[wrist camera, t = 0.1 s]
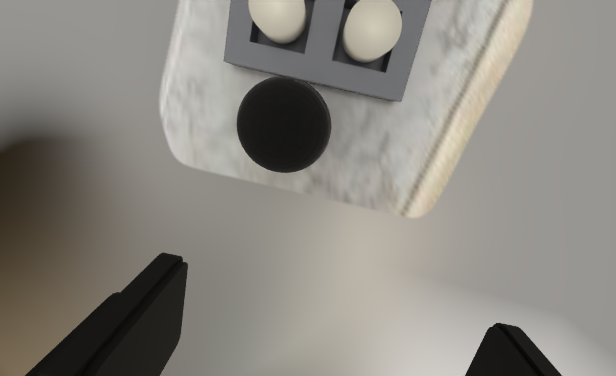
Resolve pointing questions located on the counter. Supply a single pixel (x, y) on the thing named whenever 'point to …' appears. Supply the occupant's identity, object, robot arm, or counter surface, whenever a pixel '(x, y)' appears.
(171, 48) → the counter surface
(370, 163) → the counter surface
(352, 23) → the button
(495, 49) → the counter surface
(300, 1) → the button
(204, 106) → the counter surface
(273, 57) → the board
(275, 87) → the microphone
